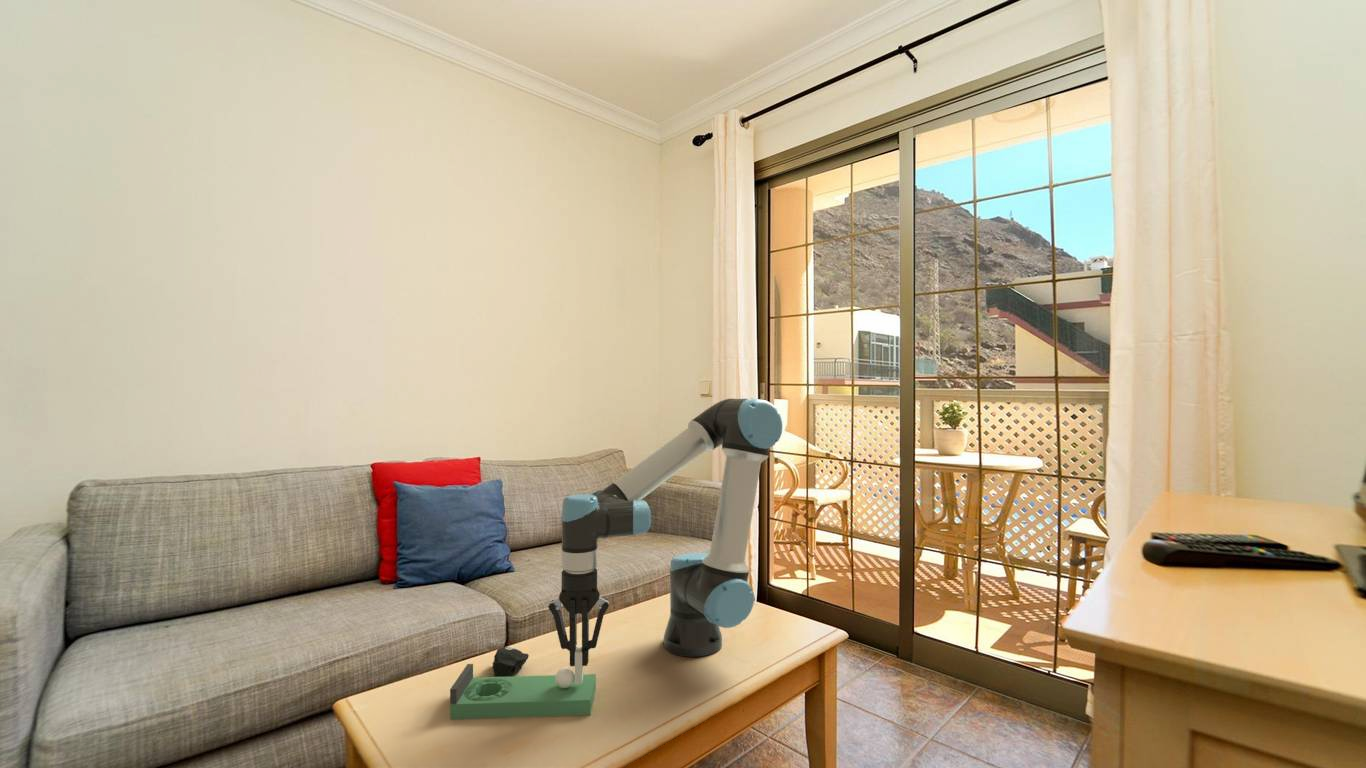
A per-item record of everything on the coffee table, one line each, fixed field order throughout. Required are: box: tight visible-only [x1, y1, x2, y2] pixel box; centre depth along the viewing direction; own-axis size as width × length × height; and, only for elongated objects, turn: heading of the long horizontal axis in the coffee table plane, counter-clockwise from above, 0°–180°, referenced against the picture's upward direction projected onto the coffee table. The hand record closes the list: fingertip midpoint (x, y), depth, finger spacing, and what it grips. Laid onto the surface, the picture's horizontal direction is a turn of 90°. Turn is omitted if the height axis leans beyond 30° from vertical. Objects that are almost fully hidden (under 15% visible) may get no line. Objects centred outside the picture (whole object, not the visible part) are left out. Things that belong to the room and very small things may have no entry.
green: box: [449, 663, 597, 720], centre depth 124 cm, size 28×11×6 cm, turn 93°
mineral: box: [492, 645, 530, 677], centre depth 137 cm, size 10×9×6 cm
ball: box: [555, 666, 575, 688], centre depth 124 cm, size 4×4×4 cm
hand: (579, 680), depth 124 cm, fingers closed
